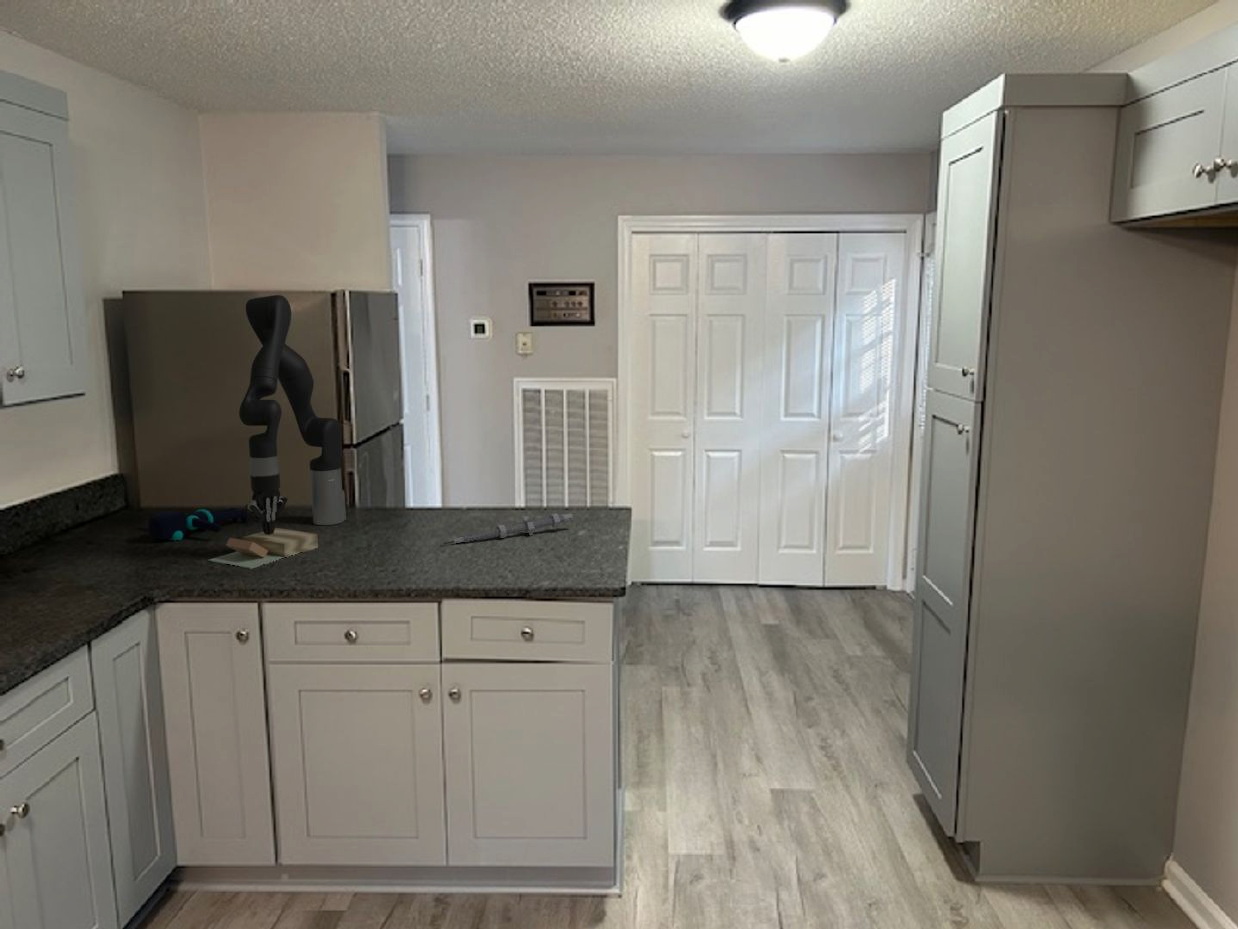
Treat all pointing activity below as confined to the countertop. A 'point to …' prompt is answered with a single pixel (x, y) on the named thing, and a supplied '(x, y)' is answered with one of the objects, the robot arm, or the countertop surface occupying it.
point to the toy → (190, 522)
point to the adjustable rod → (516, 528)
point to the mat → (244, 560)
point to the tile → (247, 547)
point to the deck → (285, 542)
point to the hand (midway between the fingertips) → (269, 534)
